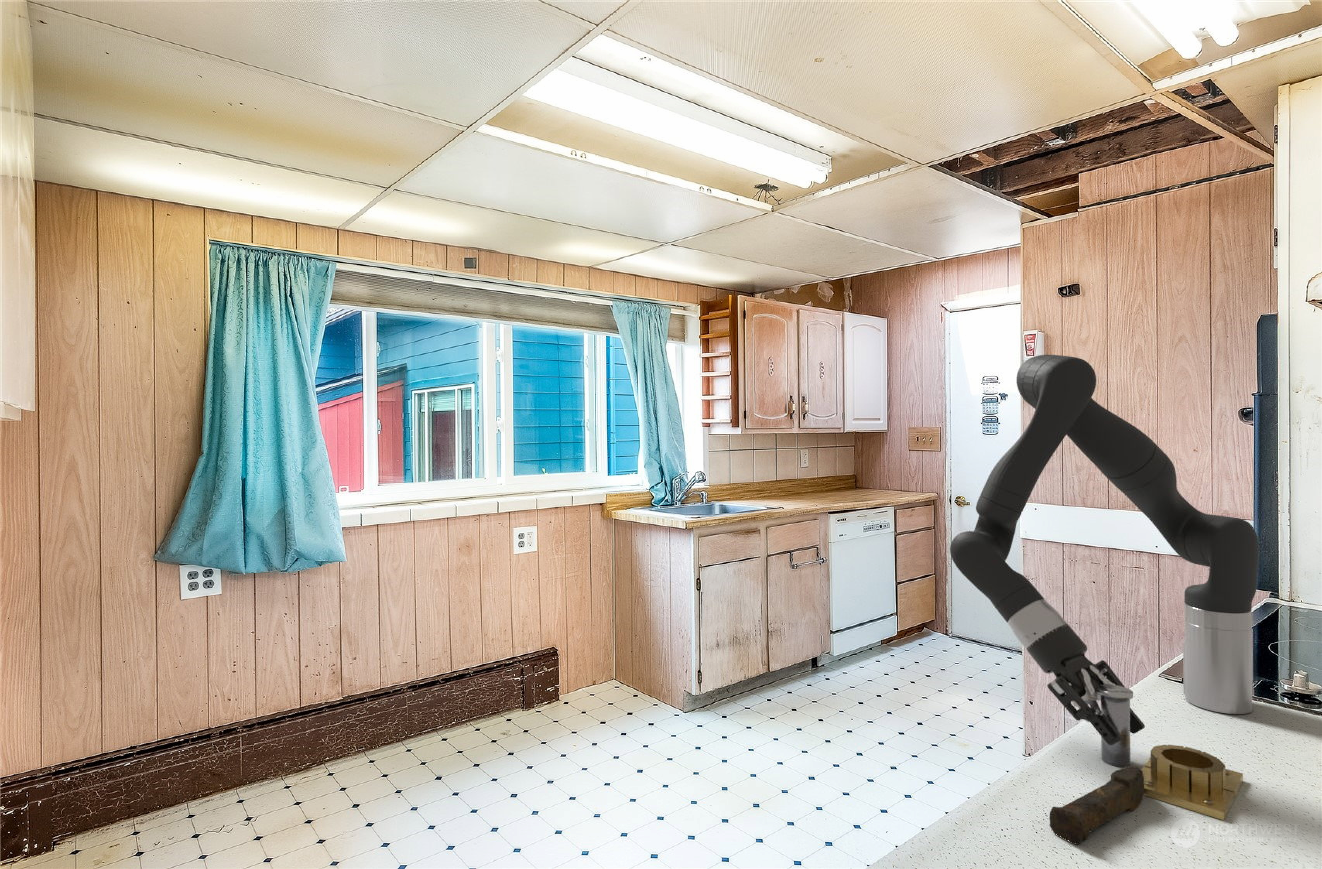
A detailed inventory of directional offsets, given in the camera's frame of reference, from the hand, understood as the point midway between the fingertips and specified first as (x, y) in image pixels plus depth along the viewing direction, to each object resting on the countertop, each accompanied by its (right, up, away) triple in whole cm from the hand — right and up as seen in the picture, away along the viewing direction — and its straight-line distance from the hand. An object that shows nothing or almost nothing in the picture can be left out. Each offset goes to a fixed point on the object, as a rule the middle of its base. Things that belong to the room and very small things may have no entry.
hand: (1128, 736), depth 101 cm
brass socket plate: (+4, -4, -6) cm, 8 cm away
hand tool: (-12, -5, -12) cm, 18 cm away
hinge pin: (-1, -4, +1) cm, 5 cm away
